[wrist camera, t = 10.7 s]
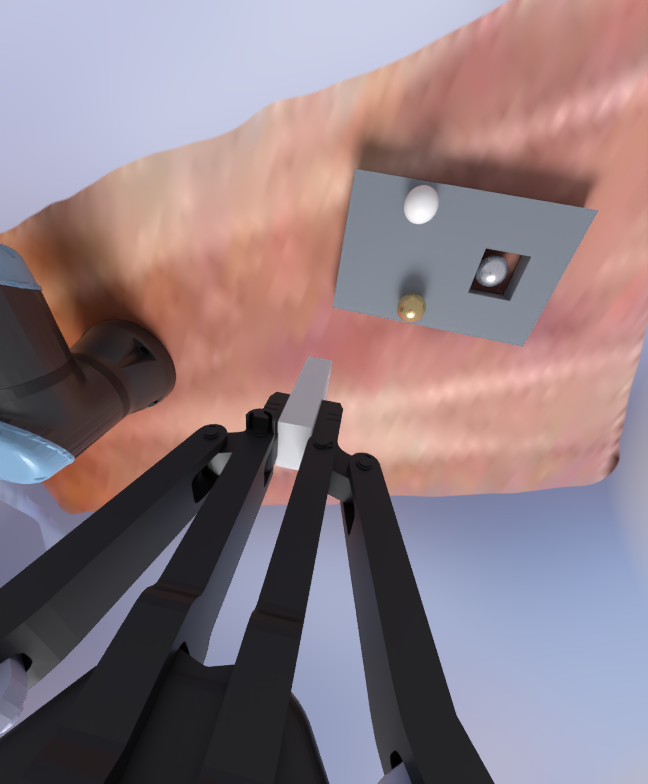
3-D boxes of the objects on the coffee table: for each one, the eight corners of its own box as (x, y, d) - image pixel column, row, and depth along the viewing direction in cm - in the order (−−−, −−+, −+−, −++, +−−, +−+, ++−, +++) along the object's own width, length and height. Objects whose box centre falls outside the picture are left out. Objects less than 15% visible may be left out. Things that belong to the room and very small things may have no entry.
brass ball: (393, 314, 37) (393, 323, 34) (400, 287, 35) (401, 294, 33) (419, 319, 37) (422, 329, 34) (428, 292, 35) (431, 300, 32)
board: (335, 301, 40) (332, 307, 38) (357, 170, 32) (355, 168, 30) (515, 338, 38) (522, 346, 36) (584, 209, 31) (598, 210, 29)
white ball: (399, 219, 32) (400, 222, 29) (408, 182, 30) (410, 181, 28) (430, 225, 32) (433, 228, 29) (441, 188, 30) (446, 187, 27)
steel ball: (470, 285, 34) (501, 292, 33) (483, 254, 32) (516, 260, 31) (470, 280, 36) (498, 286, 35) (481, 251, 34) (512, 257, 34)
